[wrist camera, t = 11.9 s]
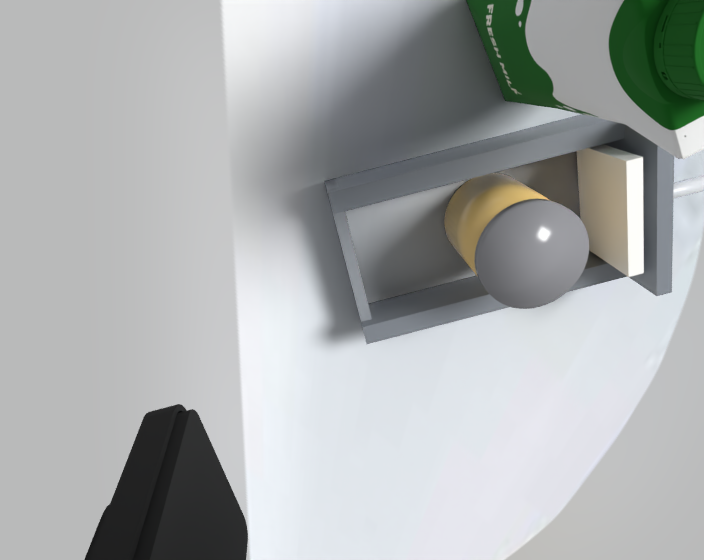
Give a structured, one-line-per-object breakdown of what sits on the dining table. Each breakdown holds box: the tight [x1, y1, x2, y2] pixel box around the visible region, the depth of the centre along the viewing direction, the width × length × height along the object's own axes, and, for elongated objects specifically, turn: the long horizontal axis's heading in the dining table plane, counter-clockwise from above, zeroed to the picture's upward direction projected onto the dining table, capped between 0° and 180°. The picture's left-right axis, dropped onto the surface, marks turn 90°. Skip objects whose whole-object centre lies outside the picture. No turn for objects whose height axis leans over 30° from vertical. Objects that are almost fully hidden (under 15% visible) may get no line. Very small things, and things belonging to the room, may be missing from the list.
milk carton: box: [466, 0, 704, 159], centre depth 24 cm, size 9×9×20 cm
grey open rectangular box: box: [325, 114, 674, 344], centre depth 36 cm, size 11×20×6 cm, turn 103°
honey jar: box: [444, 173, 589, 309], centre depth 35 cm, size 7×7×8 cm
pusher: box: [577, 144, 704, 277], centre depth 36 cm, size 8×8×6 cm
